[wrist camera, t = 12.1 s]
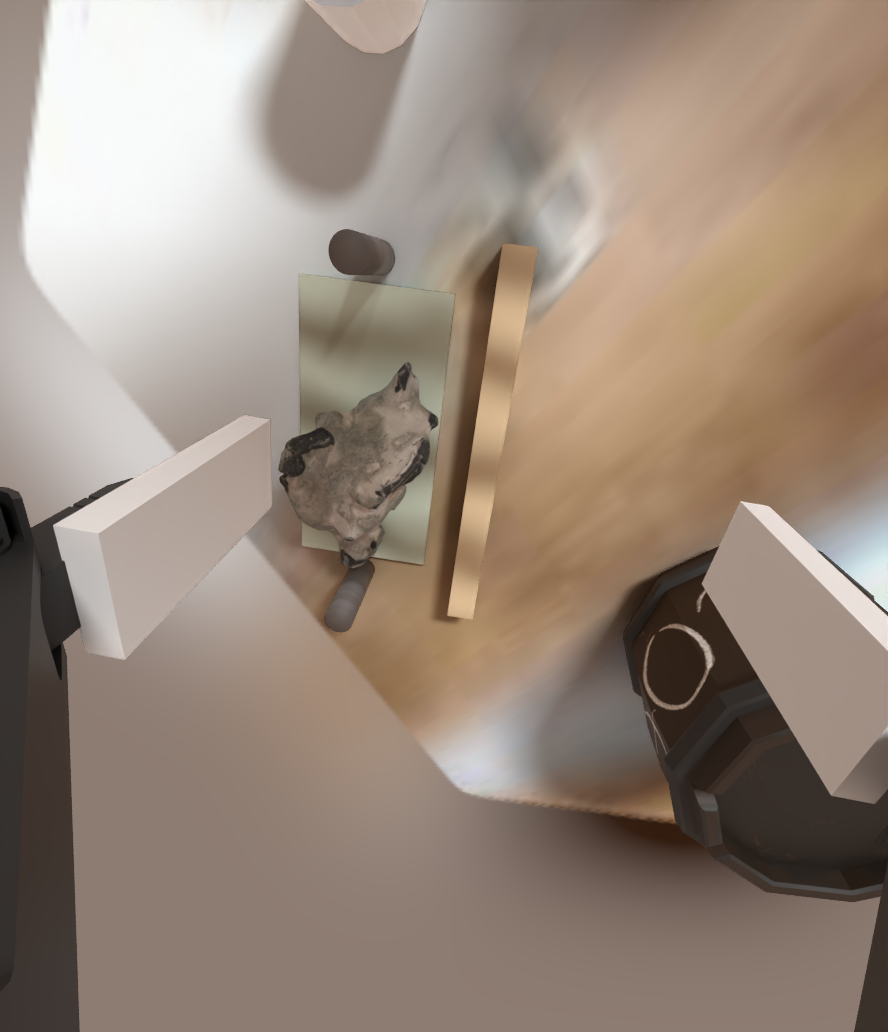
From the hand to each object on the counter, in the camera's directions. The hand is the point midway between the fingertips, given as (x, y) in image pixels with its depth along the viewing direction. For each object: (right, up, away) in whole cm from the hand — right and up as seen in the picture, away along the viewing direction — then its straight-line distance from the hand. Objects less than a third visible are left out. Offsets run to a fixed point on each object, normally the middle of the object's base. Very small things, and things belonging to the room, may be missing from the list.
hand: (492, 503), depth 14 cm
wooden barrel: (+22, -9, +26) cm, 35 cm away
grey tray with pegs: (-5, +5, +22) cm, 23 cm away
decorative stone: (-7, +4, +22) cm, 24 cm away
